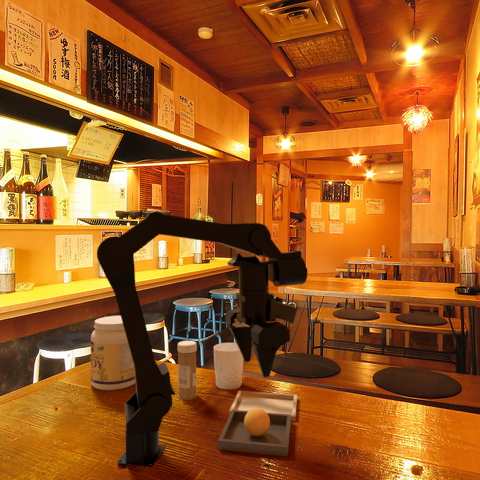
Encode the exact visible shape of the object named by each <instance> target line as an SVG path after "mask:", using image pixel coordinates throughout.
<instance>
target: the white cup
mask: <svg viewBox="0 0 480 480" xmlns="http://www.w3.org/2000/svg"><path fill="white" fill-rule="evenodd" d="M213 363H214V376H215V386H216V387H217V388H219V389H221V390H236V389H238V388H240V387H241V386H242V383H243V381H242V380H243V371H244V370H243V368H244V367H243V366H244V358H243V356H242V354H241V352H240V350H239V348H238V345H237V343H236V342H221V343H218V344H215V345H214V346H213Z"/></svg>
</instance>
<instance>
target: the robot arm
mask: <svg viewBox="0 0 480 480" xmlns="http://www.w3.org/2000/svg"><path fill="white" fill-rule="evenodd" d="M159 235H161V236H169V237H175V238H183V239H190V240H195V241H196V240H197V241H203V242H209V243H210V242H211V243H216V244H220V245H223V246H226V247H227V248H230V249H233V250H235V251H239V252H242V253H248V254H254V255H255V256H242V254H241V253H234V255H233V257H232V258H230V260H228V261H227V265H228V266H230V267H238V291H239V292H236V293H235V299H237V300H238V301H239V308H235V309H229V310H228V311H227V312H226V313H225V324H226V325H228V326H227V328H228V329H229V331H230V333H231V335H232V337H233V339H234V341H235V343H237V345H238V348H239V350H240V352H241V354H242V356H243V361H244V362H245V363H248V362H251V360H252V351H254V355H255V357H256V360H257V364H258V367H259V369H260V372H261V375H262V377H264V378H269V377H270V376H271V372H272V368H273V364H274V362H275V357H276V355H277V352H278V350H279V349H280V348H281V347H282V346H286V344H287V343H289V342H291V341H292V330H291V329H290V328H289V327H288V326H287V325H286V324H284V323H282V322H279V321H277V319H278V320H282V321H286V322H288V323H289V324H291V325H292V324H294V323H295V320H296V316H297V313H298V309H299V308H298V307H296V306H292V305H290V304H286V303H284V302H283V298H282V297H279V296H275V295H274V294H273V293H271V292H270V289H269V288H270V287H269V285H270V284H269V282H270V283H272V284H273V286H275V287H285V286H286V287H288V286H298V285H300V286H301V285H304V284H305V283H306V282H307V279H308V268H307V265H306V262H305V259H304V258H303V257H302V251H301V250H291V251H287V252H286V251H285V252H282V251H281V250H280V249H279V247H278V246H277V245H276V243H275V242H274V241H273V239H272V234H271V232H270V230H269V227H268V226H267V225H265V224H262V223H260V222H253V223H252V222H249V223H244V222H243V223H220V222H219V223H218V222H214V221H206V220H202V219H196V218H195V219H194V218H189V217H182V216H177V215H172V214H171V215H169V214H164V213H163V212H159V211H153V212H150V213H149V214H147V215H146V216H145V217H144V219H142V220H141V221H139V222H138V223H136V224H135V225H133V226H132V227H131V228H130V229H128V230H126V231H125V232H124V233H123V234H121V235H120V236H118V235H117V236H116V235H115V236H109V237H107V238H104V240H103V241H101V242H100V243H99V245H98V246H97V251H96V259H97V260H98V263H99V265H100V266H101V267H100V268H101V269H102V272H103V273H104V276H105V278H106V280H107V281H108V283H109V285H110V287H111V289H112V290H113V293H114V296H115V300H116V303H117V307H118V311H119V316H121V318H122V322H123V326H124V329H125V333H126V337H127V340H128V344H129V348H130V351H131V355H132V359H133V362H134V369H135V383H134V384H135V391H134V393H133V394H132V395H131V396H130V397H129V398H128V399H126V401H125V402H124V404H123V405H124V416H125V417H124V418H125V452H124V453H123V455H122V456H121V457H119V459H118V460H117V463H116V464H117V466H123V467H128V465H130V466H131V465H132V466H138V467H139V466H140V467H150V468H151V467H153V466H154V465H155V464H156V462H157V461H158V460H159V458H160V457H161V455H162V454H163V452H164V451H165V450H166V448H167V445H164V444H160V427H161V424H162V421H163V419H164V417H165V416H166V415H167V414H168V413H169V412H170V410H171V408H172V407H173V397H172V396H175V395H176V392H175V389H174V387H173V385H172V382H171V374H170V371H169V368H168V366H167V364H166V362H165V361H164V362H162V363H159V364H158V362H157V360H156V358H155V354H154V351H153V347H152V344H151V340H150V335H149V333H148V329H147V324H146V321H145V317H144V315H143V314H144V313H143V310H142V307H141V302H140V299H139V295H138V292H137V288H136V271H135V270H136V269H135V258H134V257H135V256H134V254H136V253H137V252H139V251H140V250H141V249H143V248H144V247H146V246H147V245H148V244H149V243H151V241H152V240H154V239H155V238H156V237H158V236H159ZM259 258H267V260H260V259H259Z"/></svg>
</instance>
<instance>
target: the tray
mask: <svg viewBox="0 0 480 480" xmlns="http://www.w3.org/2000/svg"><path fill="white" fill-rule="evenodd" d="M297 402H298V394H290V393H289V394H288V393H275V392H274V393H273V392H264V391H263V392H262V391H250V390H249V391H248V390H247V391H246V390H238V391H237V393H236V396H235V398H234V399H233V403H231V406H230V408H229V411H228V415H229V416H230V413H231V411H232V410H241V411H249V410H251V409H253V408H260V409H263V410H264V411H265V412H266V413H277V414H290V415H291V422H296V417H297V404H298V403H297Z"/></svg>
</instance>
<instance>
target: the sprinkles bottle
mask: <svg viewBox="0 0 480 480" xmlns="http://www.w3.org/2000/svg"><path fill="white" fill-rule="evenodd" d="M197 346H198V344H197V342H196V341H194V340H182V341H179V342H178V343H177V353H178V355H177V356H178V360H177V361H178V364H177V381H178V382H177V384H178V396H177V398H178V400H182V401H188V400H193V399H196V398H197V397H198V395H197V385H198V384H197V383H198V382H197V351H198V350H197V348H198V347H197Z"/></svg>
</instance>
